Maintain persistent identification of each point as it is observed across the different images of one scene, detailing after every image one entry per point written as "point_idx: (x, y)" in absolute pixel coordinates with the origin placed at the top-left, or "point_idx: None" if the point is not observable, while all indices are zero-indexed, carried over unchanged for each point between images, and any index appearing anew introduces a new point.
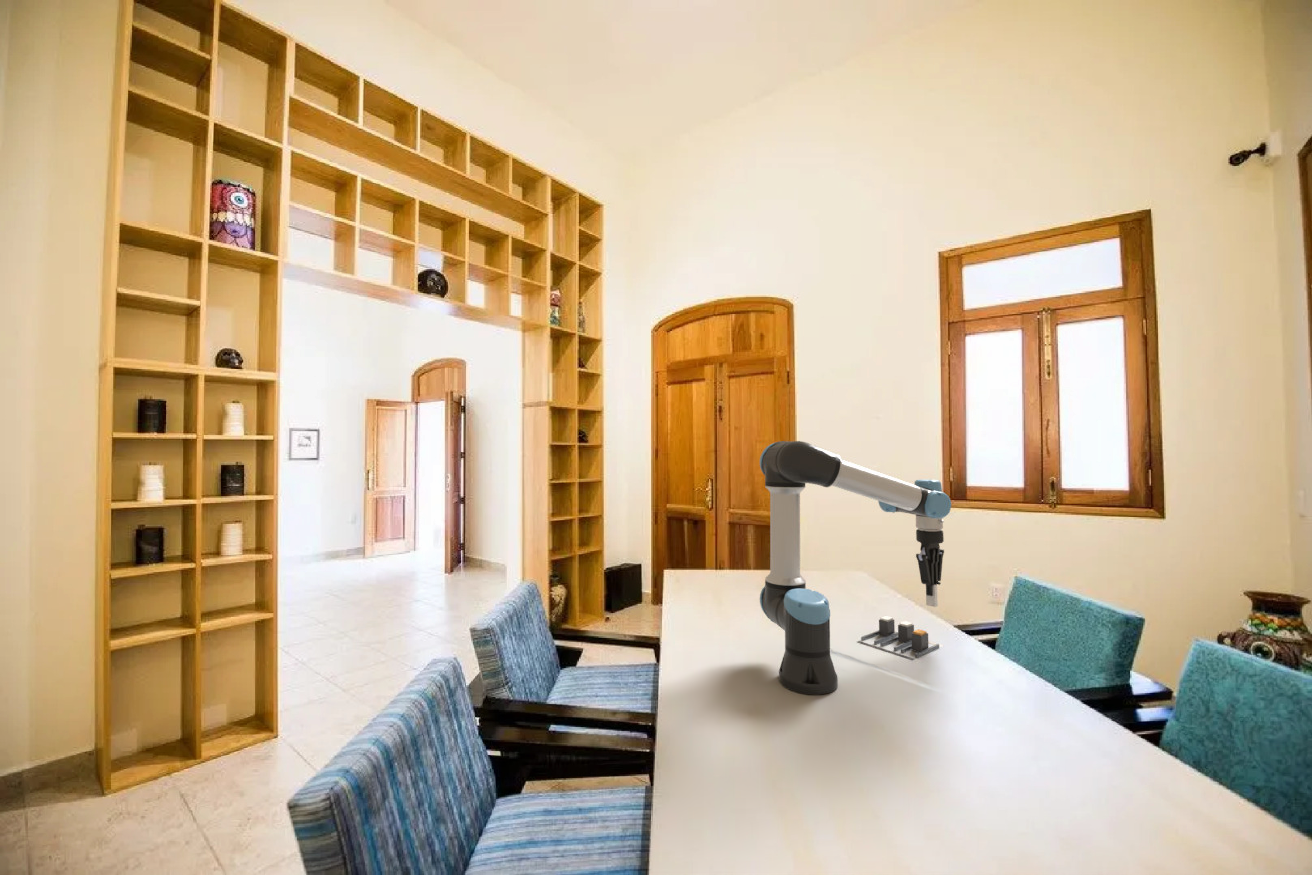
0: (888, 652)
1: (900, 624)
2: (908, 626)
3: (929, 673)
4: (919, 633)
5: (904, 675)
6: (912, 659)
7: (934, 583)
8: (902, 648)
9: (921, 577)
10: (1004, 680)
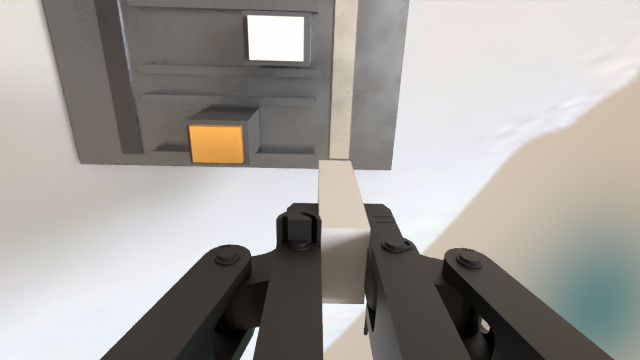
0: (106, 60)
1: (249, 20)
2: (264, 60)
3: (124, 208)
4: (192, 155)
5: (40, 171)
6: (129, 151)
7: (366, 291)
8: (156, 94)
9: (171, 300)
10: (256, 329)
